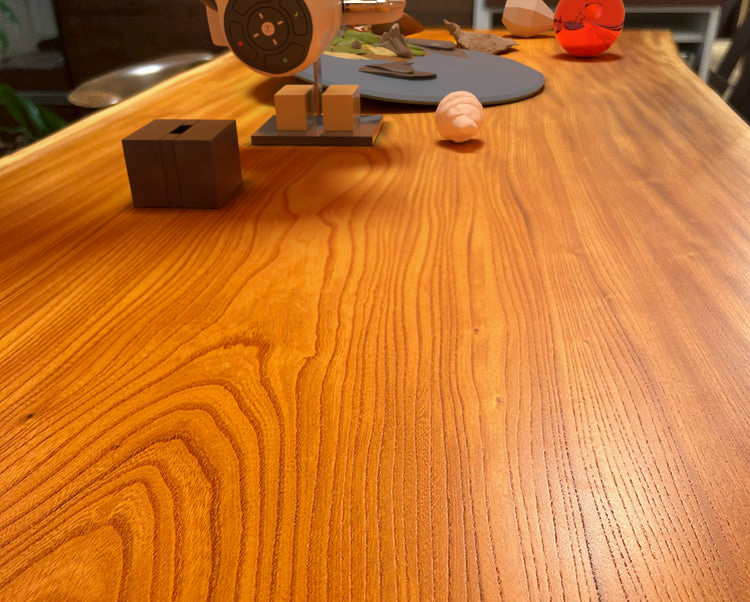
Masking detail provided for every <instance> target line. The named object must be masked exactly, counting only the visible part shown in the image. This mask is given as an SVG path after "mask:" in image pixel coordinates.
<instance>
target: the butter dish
mask: <svg viewBox="0 0 750 602" xmlns="http://www.w3.org/2000/svg"><path fill="white" fill-rule="evenodd" d="M273 97H274V111H275V114H273V115H272V116H270V117H268V118H267V120H266V121H265V122H264V123H263V124H262V125H261V126H259V128H258V129H256V131H254V132H253V133H252V134H251V135H250V141H251V142H250V143H251V145H258V146H259V145H260V146H261V145H262V146H263V145H265V146H266V145H268V146H269V145H270V146H271V145H273V146H275V145H276V146H278V145H279V146H281V145H282V146H293V145H294V146H374V143H375V141H376V139H377V137H378V135H379V133H380V131H381V129H382V127H383V125H384V115H383V114H361V97H360V85H330V86H329V87H328V88H327V89H325V91H324V92H323V94H322V110H323V113H322V114H321V115H320V116H316V101H315V85H314V84H285V85H284V86H283V87H282V88H280V89H279V90H278V91H277V92H275V94H273Z"/></svg>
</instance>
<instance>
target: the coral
mask: <svg viewBox="0 0 750 602" xmlns="http://www.w3.org/2000/svg"><path fill="white" fill-rule="evenodd" d="M442 22H443V25H444V27H445V29H446V30H447V32H448V33H449V35H450V36H452V37H453V38H454V40H455V42H456V46H458V47H457V48H458V49H465V50H471V51H478V52H484V53H489V54H493V55H497V54H498V53H501V52H506V51H507V49H510V48H512V47H513V46H520V44H519V43H518V42H517V41H515V40H514V39H513V38H511V37H510V38H509V37H507V38H506V37H501V36H500V35H496V34H494V33H492V32H486V33H485V32H474V31H473V32H471V31H463V30H462V28H461V26H460V25H458V24H457V23H455V22H454V21H453V22H449V21H448V20H447V19H442Z"/></svg>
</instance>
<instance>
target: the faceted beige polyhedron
mask: <svg viewBox="0 0 750 602" xmlns="http://www.w3.org/2000/svg"><path fill="white" fill-rule="evenodd" d="M554 14H555V12H554V11H553V10H552V9H551V8H550V7H549V6H548V5H547V4H546V3H545V2H544V0H506V1H505V6H504V9H503V13H502V18H501V23H502V24H503V26H504V27H505V28H506V30H508V31H509V33H510V34H511V35H513V36H517V37H521V38H526V39H528V38H531V37H534V36H536V35H539V34H541V33H544V32H546V31H549V30H553V19H554Z"/></svg>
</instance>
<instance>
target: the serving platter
mask: <svg viewBox="0 0 750 602" xmlns="http://www.w3.org/2000/svg"><path fill="white" fill-rule="evenodd" d="M371 25H372V24H368V25H367V26H361V27H354V28H355V29H358V30H360V31H362V30H361V29H360V28H362V27H364V29H365V31H367V30H368V27H369V28H371ZM346 26H347V25H341V28H340V29H339V31H338V33H337V35H336V36H335V38H334V39H333V40H332V42H331V43H330V44H329V46H328V47H327V48H326V50H325V51H324V53H323V54H322V55H321V73H322V89H325V90H327V88H328V87H329V86H330V85H360V98H366V99H371V100H375V101H376V100H377V101H383V102H390V103H391V102H392V103H401V104H413V105H428V106H429V105H430V106H438V105H439V104H440V102H441V101H442V100H443V99H444V98H445V97H446V96H447V95H448V94H450V93H453V92H458V91H466V92H469V93H471V94H473V95H474V96H475V97H476V98H477V99H478V101H479V102H480V103H481V105H482V106H489V105H499V104H506V103H511V102H516V101H520V100H523V99H526V98H529V97H532V96H533V95H536V93H539V91H540V90H541V89H542V88H543V86H544V85H545V83H546V77H545V75H544V73H543V72H541V71H539V70H537V69H535V68H533V67H531V66H529V65H526V64H525V63H522V62H520V61H517V60H515V59H511V58H508V57H506V56H501V55H497V54H494V55H493V54H489V53H484V52H478V51H471V50H465V49H460V48H459V47H457V43H455V42H454V41H452V40H443V39H431V38H430V39H429V38H428V39H427V38H415V37H405V38H404V36H403V34H402V35H400V31H399V24H398V23H396V24H394V25H393V26H392V27H391V28H390V30H389V32H388V33H387V32H384V33H383V35H382V36H379V35H375V34H372V33H369V32H364V33H363V32H359V31H356V30H355V29H348V28H347V27H346ZM370 32H371V31H370ZM291 76H292V77H295V78H296V79H299V80H302V81H304V82H306V83H308V84H310V85H314V68H313V64H312V65H311V66H310V67H308V68H307V69H305V70H303V71H302V72H299V73H297V74H294V75H291Z"/></svg>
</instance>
